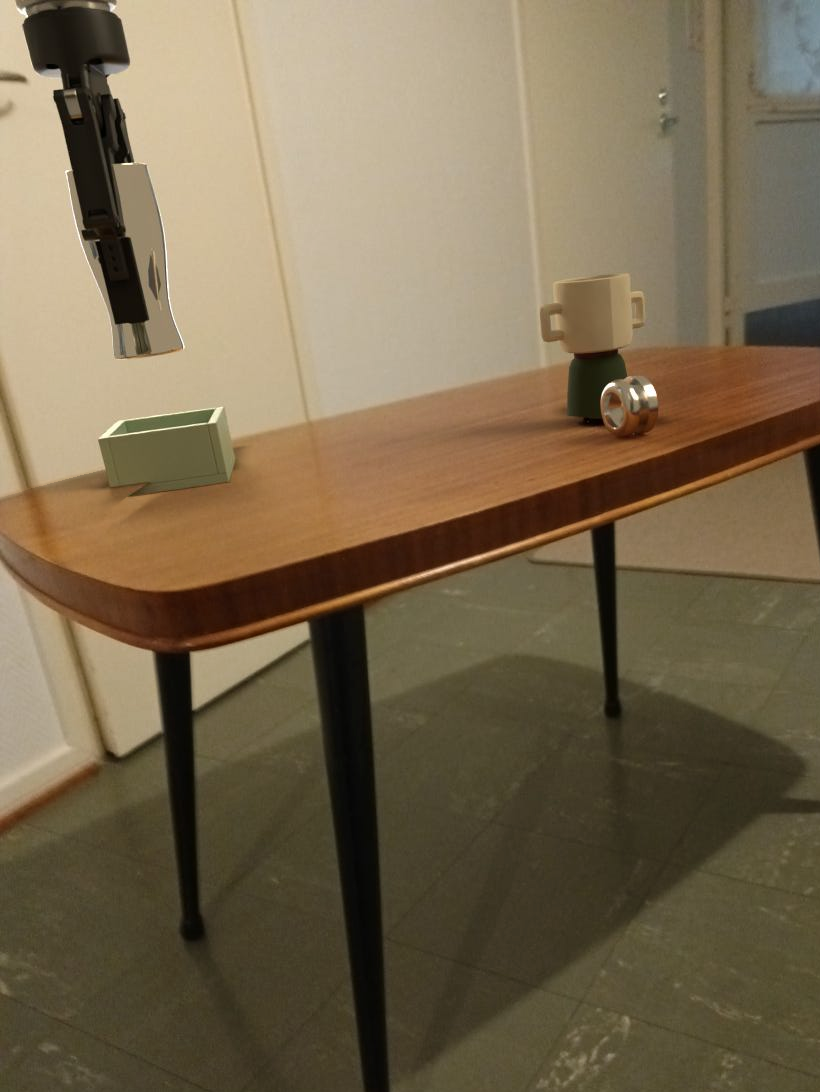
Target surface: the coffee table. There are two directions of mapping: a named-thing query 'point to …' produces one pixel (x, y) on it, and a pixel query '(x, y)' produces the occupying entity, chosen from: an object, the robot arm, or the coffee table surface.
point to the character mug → (592, 334)
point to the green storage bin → (169, 451)
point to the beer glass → (151, 264)
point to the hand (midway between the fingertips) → (141, 318)
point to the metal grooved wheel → (629, 406)
